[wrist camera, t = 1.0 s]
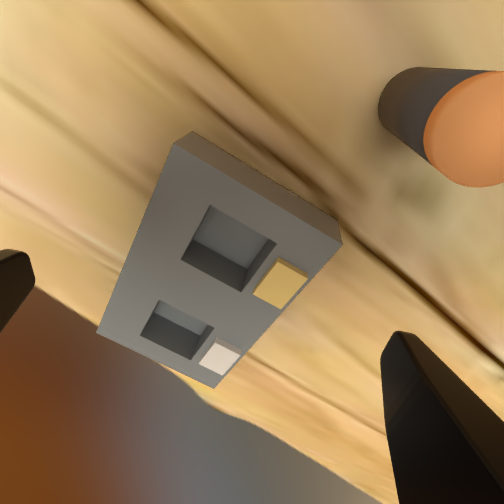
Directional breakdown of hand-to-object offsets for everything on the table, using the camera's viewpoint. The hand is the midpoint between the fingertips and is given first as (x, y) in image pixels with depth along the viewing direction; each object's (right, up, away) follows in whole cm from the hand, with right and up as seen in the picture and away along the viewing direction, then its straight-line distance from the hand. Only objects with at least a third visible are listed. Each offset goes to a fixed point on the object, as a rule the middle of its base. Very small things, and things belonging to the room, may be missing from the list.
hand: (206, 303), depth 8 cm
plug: (+9, +9, +8) cm, 15 cm away
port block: (-2, 0, +15) cm, 15 cm away
